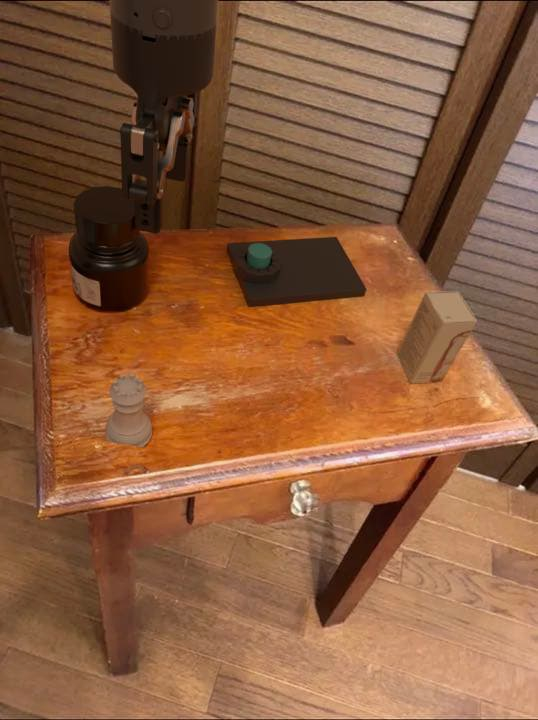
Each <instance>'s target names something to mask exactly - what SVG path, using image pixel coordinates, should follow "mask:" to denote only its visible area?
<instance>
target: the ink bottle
mask: <svg viewBox="0 0 538 720" xmlns="http://www.w3.org/2000/svg"><path fill="white" fill-rule="evenodd" d="M72 204H73V212H74V222H75V223H74V225H75V228H76V231H75V232H74V233H73V234H72V236H71V238H70V240H69V243H68V258H69V267H70V277H71V283H72V284H71V285H72V289H73V293H74V295H75V297H76V299H77V300H78V301H79V302H80V303H81V304H82V305H83V306H85V307H87V308H89V309H91V310H94V311H99V312H104V313H105V312H106V313H108V312H109V313H115V312H123V311H127V310H130V309H133V308H135V307H137V306H138V305H140V304H142V302H144V300H145V299H146V298H147V296H148V294H149V289H150V245H149V243H148V240H147V239H146V237H145V235H144V234H143V233H142V231H141V230H138V229H137V228H136V226H135V205H134V200H130V199H124V198H123V197H122V187H116V186H109V185H103V186H102V185H101V186H93V187H90V188H87V189H84V190H82V191H81V192H80V193H78V194H77V195H76V196H75V199H74V201H73V203H72Z"/></svg>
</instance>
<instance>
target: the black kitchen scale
mask: <svg viewBox="0 0 538 720" xmlns="http://www.w3.org/2000/svg"><path fill="white" fill-rule="evenodd" d="M254 243H262V244H265V245H267V246H269V247H270V248H271V250H272V255H271V260H270V264H269V266H268V267H266V268H260V269H259V268H255V267H252V266H250V265H249V264H248V263H247V254H248V248H249V246H250V245H252V244H254ZM226 255H227V256H228V259H229V262H230V264H231V266H232V269H233V272H234V274H235V277H236V279H237V282H238V284H239V287H240V290H241V292H242V295H243V297H244V298H243V299H244V300H245V303H246V305H247V307H248V308H258V307H268V306H278V305H280V306H281V305H289V304H290V305H291V304H301V303H311V302H321V301H332V300H343V299H352V298H362V297H365V295H366V293H367V287H366V285H365V283H364V282H363V281H362V280H363V279H361V276H360V275H359V274H358V271H357V269H356V268H355V267H354V264H353V263H352V261H351V260H350V258H349V256H348V254H347V252H346V251H345V249H344V247H343V245H342V244H341V242H340V240H339V239H338V237H337V236H327V237H309V238H294V239H291V238H290V239H276V240H275V239H273V240H259V241H258V240H257V241H256V240H255V241H241V242H239V241H238V242H227V245H226Z"/></svg>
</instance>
